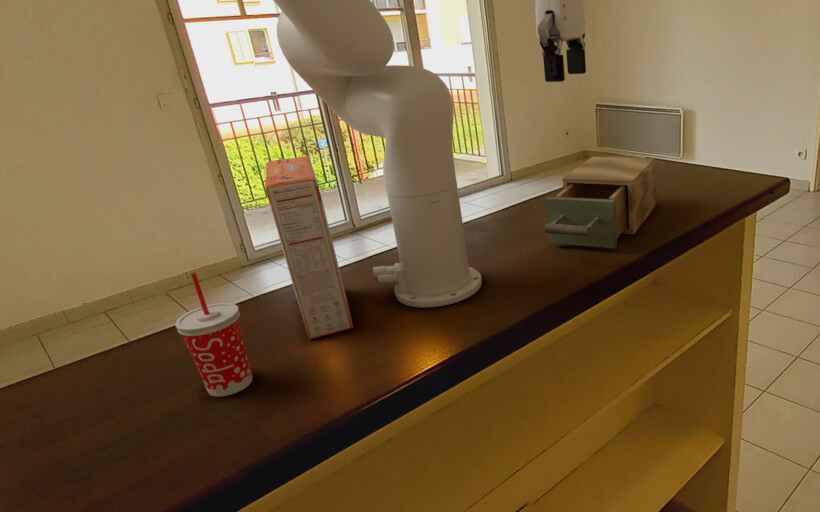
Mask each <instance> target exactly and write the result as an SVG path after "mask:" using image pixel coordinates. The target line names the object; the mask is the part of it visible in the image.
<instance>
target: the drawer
mask: <svg viewBox="0 0 820 512" xmlns="http://www.w3.org/2000/svg"><path fill="white" fill-rule="evenodd" d="M588 198H589V199H588ZM607 199H608V200H607ZM545 204H546V214H547V223H545V225H544V233H545V234H548V237H549V244H555V245H567V246H580V247H581V246H582V247H591V248H604V249H616V248H617V247H618V238H619V237H620V236H621V235H622V234H621V233H622V232H623V231H624V230H625V228H626V227H627V226H628V225H629V207H628V185H609V184H585V183H571V184H570V185H569V186H568V187H566V188H565V189H564V190H563V189H562V190H561V191H560V192H558V193H557V194H556V195H555V196H548V197H546V198H545Z"/></svg>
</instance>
